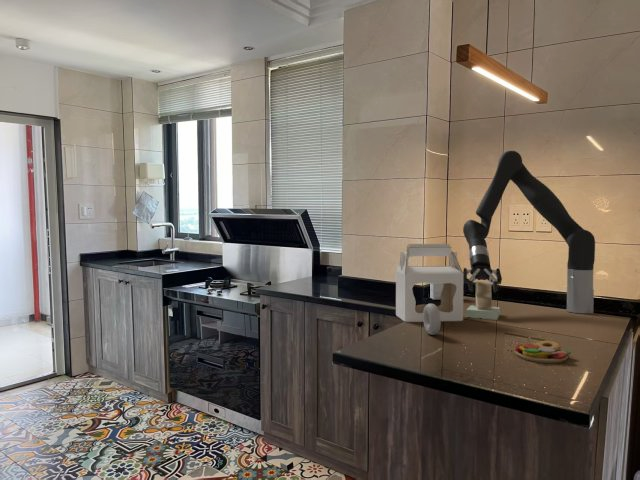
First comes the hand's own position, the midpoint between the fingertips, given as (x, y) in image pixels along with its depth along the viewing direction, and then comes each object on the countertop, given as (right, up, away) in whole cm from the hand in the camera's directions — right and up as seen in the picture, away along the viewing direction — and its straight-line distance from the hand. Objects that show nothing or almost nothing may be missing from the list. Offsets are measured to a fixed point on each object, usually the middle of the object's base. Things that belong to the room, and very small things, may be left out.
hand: (483, 290), depth 182 cm
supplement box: (-5, -9, +45) cm, 46 cm away
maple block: (0, -7, +1) cm, 7 cm away
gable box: (-22, -10, -3) cm, 24 cm away
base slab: (0, -10, +1) cm, 10 cm away
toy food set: (-4, -12, -56) cm, 57 cm away
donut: (-27, -11, -31) cm, 42 cm away
